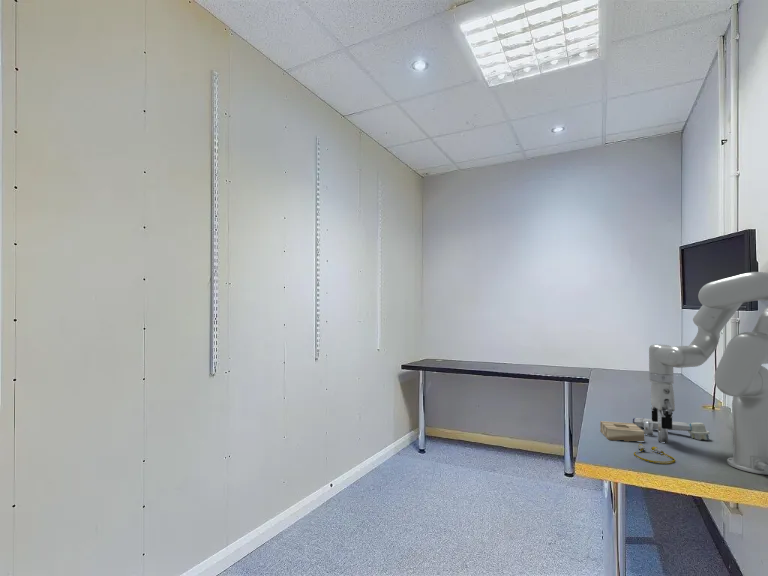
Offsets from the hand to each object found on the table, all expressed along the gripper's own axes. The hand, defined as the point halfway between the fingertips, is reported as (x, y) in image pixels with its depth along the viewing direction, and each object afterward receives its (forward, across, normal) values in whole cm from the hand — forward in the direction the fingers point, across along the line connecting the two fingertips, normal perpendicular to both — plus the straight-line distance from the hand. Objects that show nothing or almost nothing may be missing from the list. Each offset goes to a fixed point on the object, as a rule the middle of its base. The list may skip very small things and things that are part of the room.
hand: (661, 425), depth 156 cm
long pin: (+6, 0, 0) cm, 6 cm away
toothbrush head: (+7, +14, -7) cm, 17 cm away
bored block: (+6, +3, +13) cm, 14 cm away
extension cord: (+7, -19, +9) cm, 22 cm away
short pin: (+6, +9, +2) cm, 11 cm away
